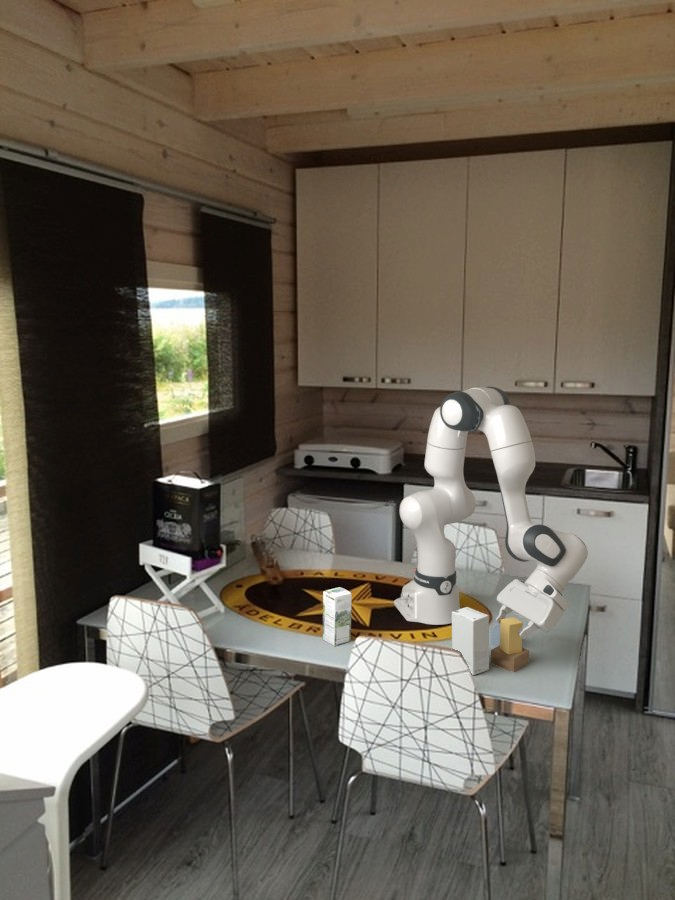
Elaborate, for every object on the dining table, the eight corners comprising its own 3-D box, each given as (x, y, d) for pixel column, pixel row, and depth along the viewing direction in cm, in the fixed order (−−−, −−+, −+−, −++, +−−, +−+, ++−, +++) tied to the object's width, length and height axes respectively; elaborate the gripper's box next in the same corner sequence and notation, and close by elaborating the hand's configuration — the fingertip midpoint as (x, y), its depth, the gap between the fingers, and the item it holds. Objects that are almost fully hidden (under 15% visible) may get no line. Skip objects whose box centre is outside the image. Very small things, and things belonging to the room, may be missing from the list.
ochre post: (499, 648, 210) (500, 619, 208) (512, 645, 211) (513, 616, 210) (508, 654, 206) (509, 625, 205) (521, 651, 208) (522, 622, 206)
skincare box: (489, 670, 205) (491, 615, 202) (472, 676, 202) (474, 620, 199) (466, 658, 212) (468, 605, 209) (449, 664, 209) (451, 610, 206)
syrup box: (338, 634, 226) (339, 585, 224) (351, 642, 222) (352, 592, 219) (322, 639, 223) (322, 590, 220) (334, 647, 218) (335, 596, 216)
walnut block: (490, 664, 209) (491, 649, 209) (505, 656, 214) (505, 641, 214) (513, 673, 205) (514, 658, 204) (528, 664, 210) (529, 650, 209)
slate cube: (490, 645, 221) (490, 628, 220) (501, 640, 224) (501, 623, 223) (505, 651, 217) (506, 633, 216) (516, 645, 220) (517, 628, 219)
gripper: (511, 569, 218) (479, 608, 216) (560, 594, 199) (526, 637, 197) (524, 582, 220) (492, 621, 218) (574, 609, 202) (540, 651, 200)
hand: (509, 629), depth 207 cm, fingers open, 8 cm apart
